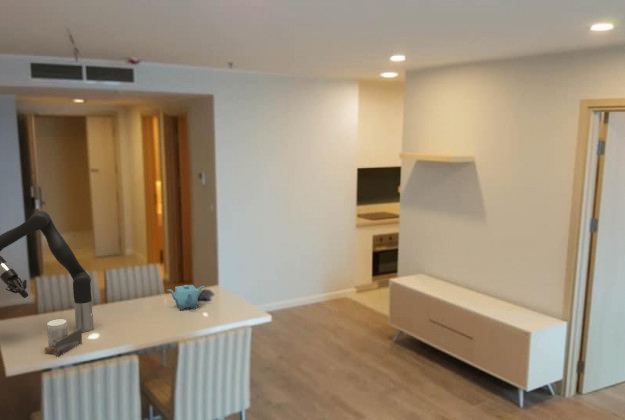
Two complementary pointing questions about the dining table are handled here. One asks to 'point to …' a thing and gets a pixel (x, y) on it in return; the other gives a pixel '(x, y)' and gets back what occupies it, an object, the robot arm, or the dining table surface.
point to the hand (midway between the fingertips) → (26, 296)
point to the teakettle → (186, 296)
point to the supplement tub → (56, 331)
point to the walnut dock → (66, 343)
